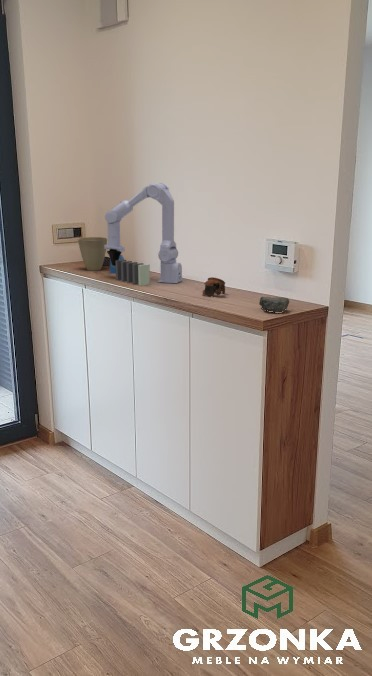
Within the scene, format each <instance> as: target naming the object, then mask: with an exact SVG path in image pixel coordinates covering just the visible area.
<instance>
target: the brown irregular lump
mask: <svg viewBox="0 0 372 676" xmlns="http://www.w3.org/2000/svg"><path fill="white" fill-rule="evenodd" d="M225 284H226V282H225V280H223V279H221V278H217V277H211V276H210V277H208V278H207V280H206V281H205V282H204V289H203V290H202V296H203V295H204V296H207V297H211V296H215V295H217V296H220V295H221V294H222V293H223V295H224V294H226V285H225Z"/></svg>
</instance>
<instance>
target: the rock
mask: <svg viewBox="0 0 372 676" xmlns="http://www.w3.org/2000/svg"><path fill="white" fill-rule="evenodd" d="M289 304H290V299H289V298H288V297H280V296H279V297H278V296H277V297H271V296H261V297H260V298H259V305H260V307H261V309H262V308H263V309H264V310H268V311H273V312H282V311H284V310H285V309H286V310H287V309H288V307H289ZM263 309H262V310H263ZM264 310H263V311H264ZM286 310H285V311H286ZM285 311H284V312H285Z"/></svg>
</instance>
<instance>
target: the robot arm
mask: <svg viewBox="0 0 372 676" xmlns="http://www.w3.org/2000/svg"><path fill="white" fill-rule="evenodd" d="M149 198H150V199H153V200H155V201H157V203H159V204H160V205H161V208H162V209H161V211H162V212H161V215H162V216H161V220H162V221H161V224H162V225H161V230H162V231H161V235H162V237H161V238H162V239H161V243H160V246H159V251H158V253H157V254H158V257H157V258H158V259H159V261H160V279H159V280H157V281H156V282H157V283H168V284H177V283H181V282H183V266H182V264H181V262H177V258H178V256H179V251H178V249H177V243H176V241H175V200H174V198H173V196H172V193H171V192H170V188H169V187H168V186H167V185H166V184H164V183H162V182H160V183H150V184H149V185H148V186H146V187H144V188H142V189H141V190H140V191H139V192H138V193H137V194H135V195H134V196H132V198H130V199H128V200H127V199H126V200H121V201H119V202H120V203H119V204H118V205H116V206H114V207H112V209H110V210H107V211H106V212H105V214H104V219H105V221H106V223H107V245H104V249H106V252H107V255H108V256H109V258H110V259H111V263H112V266H116V262H115V261H117V260H119V257H120V255H122V253H123V252H125V251H126V250H125V247H124V246H122V245H121V224H120V223H121V221H122V219H123V218H125V216H127V215H129V214H130V213H131V212H132V211H133V209H134V207H135V206H137V204H139V203H141V202H143V201H144V200H146V199H149Z"/></svg>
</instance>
